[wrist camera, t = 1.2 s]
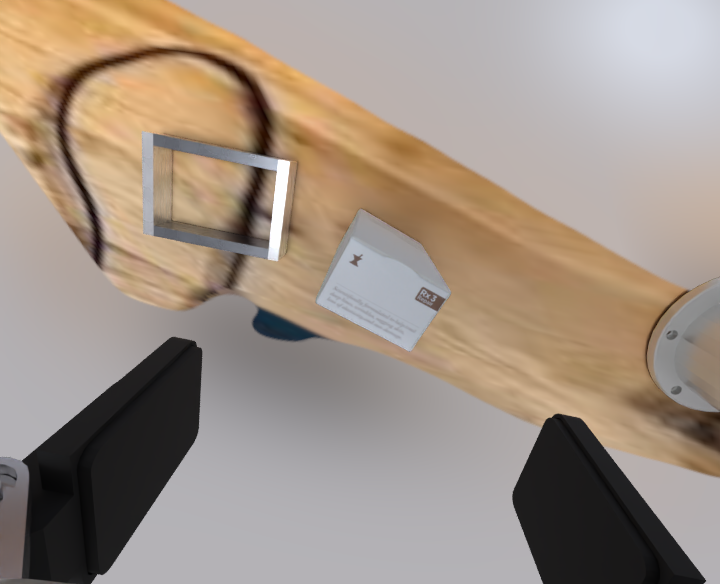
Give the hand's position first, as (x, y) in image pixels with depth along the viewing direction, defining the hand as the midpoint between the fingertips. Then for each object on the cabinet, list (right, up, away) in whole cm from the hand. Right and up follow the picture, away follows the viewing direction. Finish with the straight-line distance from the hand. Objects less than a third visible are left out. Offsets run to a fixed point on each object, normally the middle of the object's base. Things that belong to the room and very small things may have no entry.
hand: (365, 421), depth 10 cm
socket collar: (-11, +11, +20) cm, 25 cm away
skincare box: (+2, +7, +20) cm, 22 cm away
